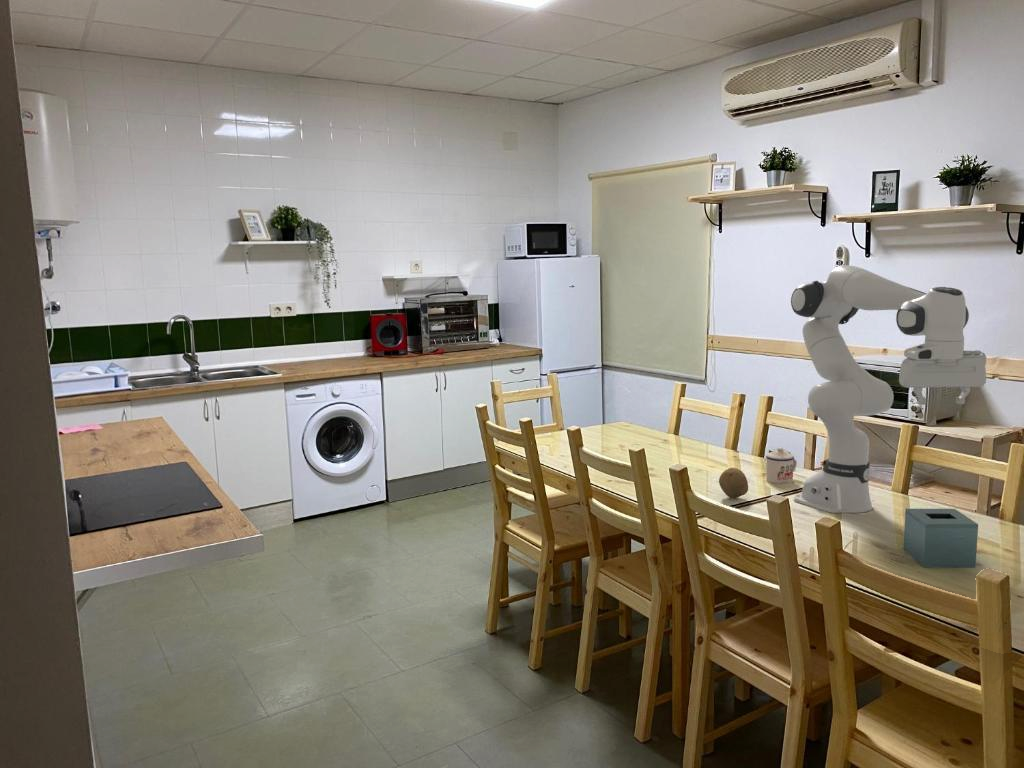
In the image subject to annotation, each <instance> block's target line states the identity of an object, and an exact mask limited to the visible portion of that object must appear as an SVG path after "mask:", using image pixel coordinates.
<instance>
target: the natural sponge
mask: <svg viewBox="0 0 1024 768" xmlns="http://www.w3.org/2000/svg"><path fill="white" fill-rule="evenodd" d="M718 484H719V487H720V488H721V490H722V492H723V493H724V494H725V496H727V497H728V498H729V499H731V498H733V499H735V498H736V499H738V498H740V497H742V496H744V495H746V494H747V493H748V491H749V482H748V480H747V477H746V474H745V473H744V472H743V471H742V470H740V469H739V468H738V467H737V468H736V467H730V468H727V469H725V470H724V471H723V472H722V473H721V474H720V476H719V478H718ZM733 499H732V500H733Z"/></svg>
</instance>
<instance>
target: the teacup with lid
mask: <svg viewBox="0 0 1024 768" xmlns="http://www.w3.org/2000/svg"><path fill="white" fill-rule="evenodd" d="M783 449H784V448H783V447H777V448H776V449H775V450H776V451H773V452H771V453H769V452H768V453H767V454H765V458H766V473H765V475H766V476H765V478H766V479H765V480H766V481H767V482H768V483H771V484H775V485H776V484H777V485H789V484H792V483H793V481H794V480H793V478H794V471H795V470H796V468H797V463H798V462H797V460H796V459H795V457H794V455H793V454H792V453H791V452H790V453H791V454H790V453H787V452H786V451H787V450H786V451H783Z"/></svg>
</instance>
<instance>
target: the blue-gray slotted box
mask: <svg viewBox="0 0 1024 768" xmlns="http://www.w3.org/2000/svg"><path fill="white" fill-rule="evenodd" d="M904 510H905V512H904V515H905V516H904V531H903V532H904V533H903V534H904V535H903V550H904V551H905V552H906V553H907V554H908V555H909V554H910V555H911V556H912V559H914V560H915V561H916V562H917V563H918V564H919V565H920V564H921V565H920V566H922V568H943V569H944V568H945V569H946V568H948V569H949V568H954V569H955V568H958V569H959V568H960V569H962V568H964V569H965V568H966V569H971V568H972V569H976V566H977V548H978V534H979V523H977V522H976V521H974V520H972V518H970V517H968V516H967V515H965V514H963V513H962V512H961V511H960V510H957V509H956V508H905V509H904ZM910 555H909V556H910ZM911 556H910V557H911Z"/></svg>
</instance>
